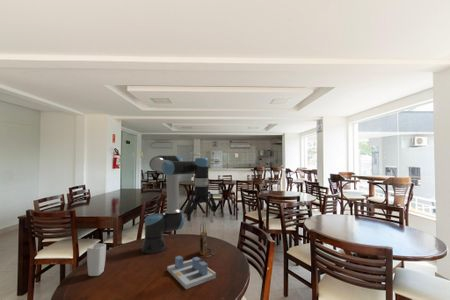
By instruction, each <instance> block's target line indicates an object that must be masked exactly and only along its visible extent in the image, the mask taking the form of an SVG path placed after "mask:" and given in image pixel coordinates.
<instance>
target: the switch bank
mask: <svg viewBox="0 0 450 300" xmlns="http://www.w3.org/2000/svg"><path fill="white" fill-rule="evenodd" d="M166 267H167V269H166V270H167V271H168V273H169V274H170V275H171V276H173V278H174V279H175V280H176V281H177V282H178V283H180V284H179V285H181V286H182V287H183V288H184V289H185V290H188V289H191V288H193V287H196V286H199V285H201V284H204V283H206V282H209V281H212V280H215V279H216V278H217V274H216V273H217V272H215V271H214V270H213V269H211V268H209V267H208V274H206V275H203V276H202V275H201V274H200V273H199V269H198V270H195V269H194V268H193V267H192V259H189V260H183V268H179V269H178V268H177V267H176V266H175V263H174V264H170V265H168V266H166Z"/></svg>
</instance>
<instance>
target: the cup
mask: <svg viewBox="0 0 450 300" xmlns="http://www.w3.org/2000/svg"><path fill="white" fill-rule="evenodd" d="M86 250H87V252H86V261H87V264H86V265H87V275H88V276H89V277H99V276H100V275H102V274H103V272H104V270H105V264H106V257H107V256H106V255H107V254H106V253H107V244H106V243H94V244H92V245H89V246H88V247H87V248H86Z"/></svg>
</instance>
